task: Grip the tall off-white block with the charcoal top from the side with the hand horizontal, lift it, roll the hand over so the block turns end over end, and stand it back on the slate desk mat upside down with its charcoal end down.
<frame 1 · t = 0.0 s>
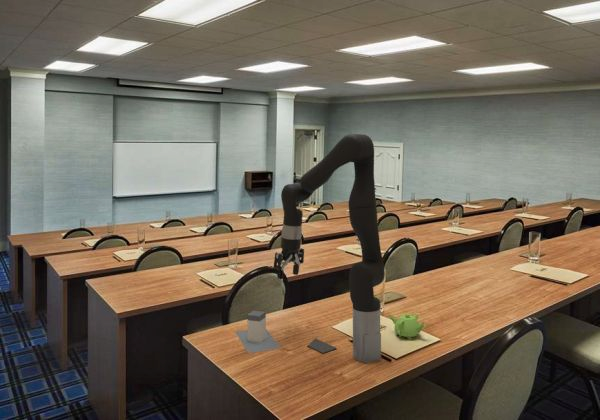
hand: (287, 276, 182), 22 cm above the table, tool pointing down, fingers open, 8 cm apart
desk mat: (257, 340, 177), on the table
teapot: (408, 335, 180), on the table
block: (257, 339, 177), point 1 cm above the table, touching desk mat
smartphone: (316, 346, 172), on the table
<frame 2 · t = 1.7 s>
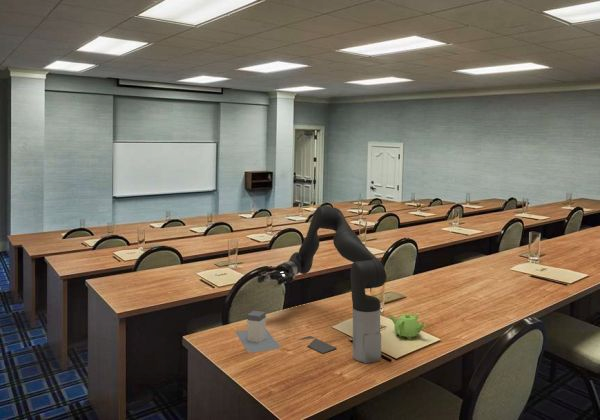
hand: (268, 281, 185), 20 cm above the table, tool horizontal, fingers open, 8 cm apart
nothing on the table moved.
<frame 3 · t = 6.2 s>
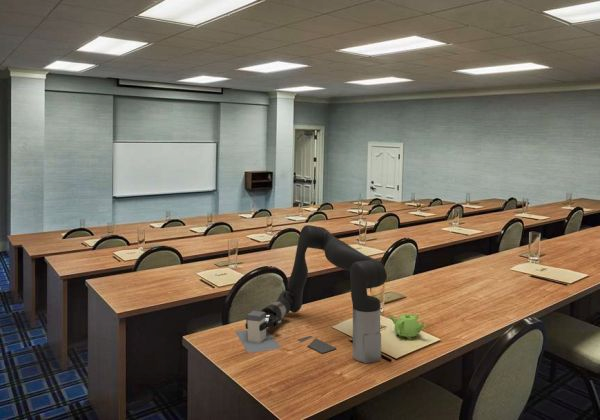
hand: (253, 327, 174), 6 cm above the table, tool horizontal, fingers closed on block, 5 cm apart
block: (257, 339, 177), point 1 cm above the table, touching desk mat, gripper
everything else where it was.
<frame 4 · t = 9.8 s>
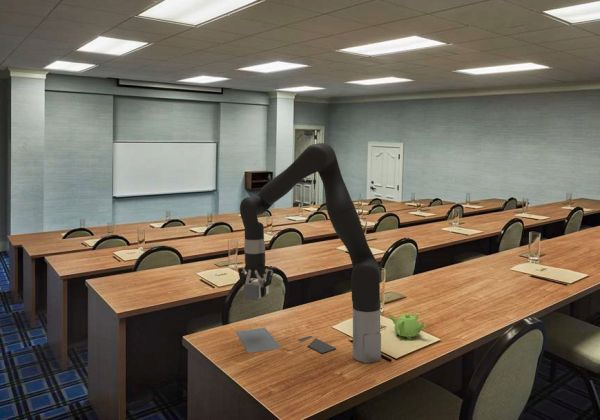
hand: (256, 295, 175), 17 cm above the table, tool pointing down, fingers closed on block, 5 cm apart
block: (262, 285, 180), point 20 cm above the table, tilted 90°, touching gripper
everything else where it was.
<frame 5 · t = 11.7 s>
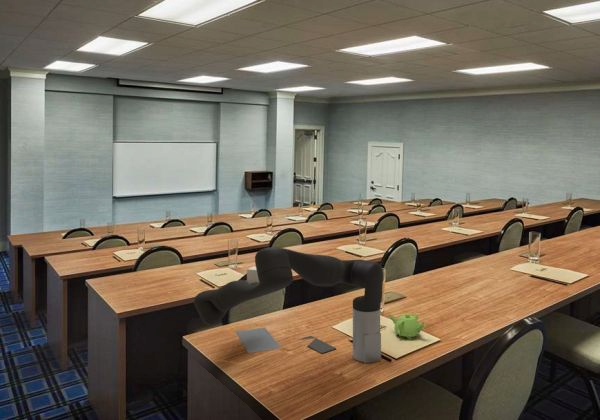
hand: (259, 281, 177), 22 cm above the table, tool horizontal, fingers closed on block, 5 cm apart
block: (256, 268, 175), point 27 cm above the table, tilted 180°, touching gripper
everything else where it was.
when the fingers open (6 cm above the table, at t = 14.8 s): block drops 1 cm, resting on desk mat.
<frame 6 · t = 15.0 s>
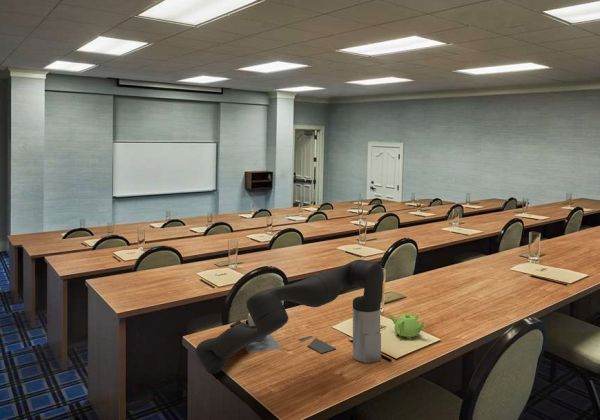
hand: (259, 321, 178), 7 cm above the table, tool horizontal, fingers open, 6 cm apart
block: (257, 312, 176), point 11 cm above the table, tilted 180°, touching desk mat
everything else where it was.
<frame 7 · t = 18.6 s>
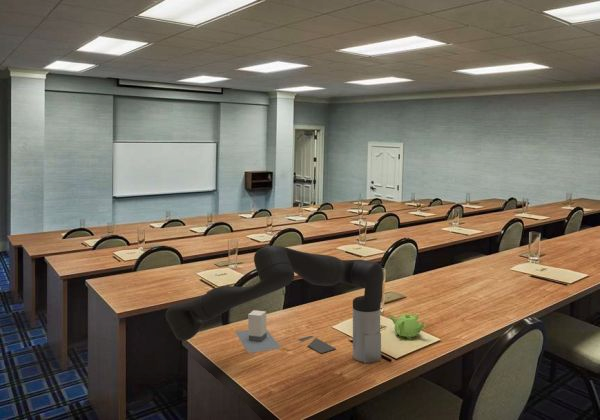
hand: (239, 289, 164), 23 cm above the table, tool horizontal, fingers open, 8 cm apart
nothing on the table moved.
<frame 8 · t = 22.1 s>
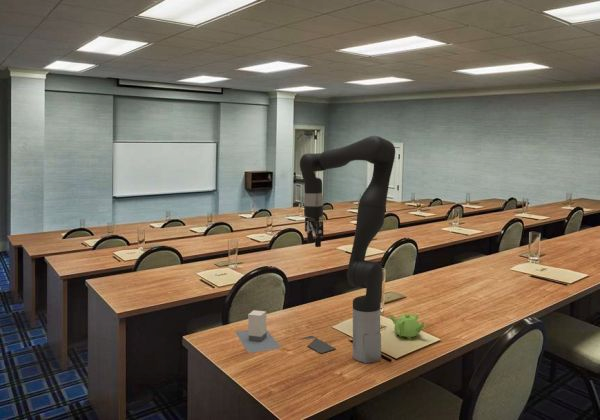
hand: (314, 245, 189), 33 cm above the table, tool pointing down, fingers open, 8 cm apart
nothing on the table moved.
at the end: block tilted 180°; block inside the target area on the desk mat (0.6 cm from its centre), point 10.6 cm above the desk mat's base; block touching desk mat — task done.
